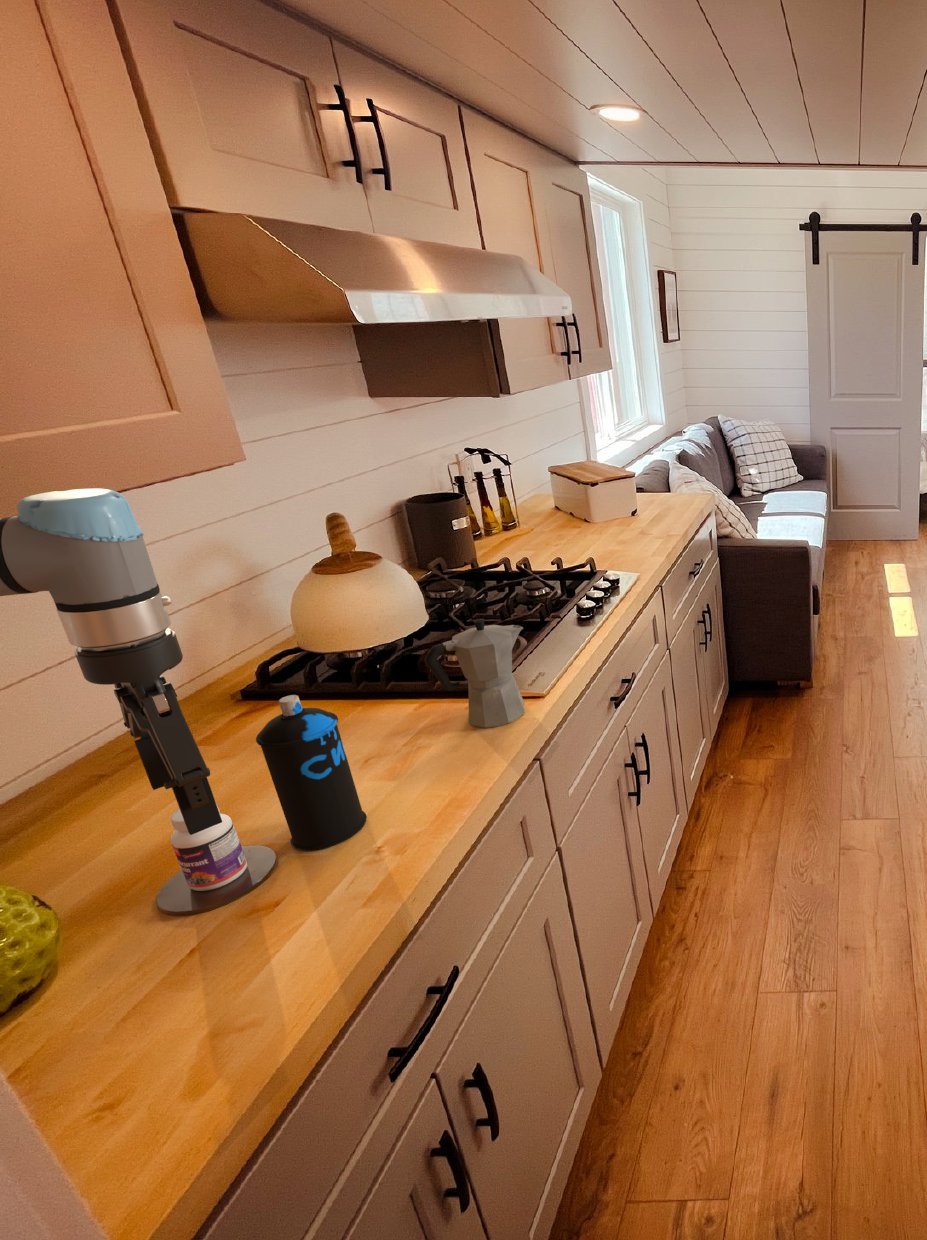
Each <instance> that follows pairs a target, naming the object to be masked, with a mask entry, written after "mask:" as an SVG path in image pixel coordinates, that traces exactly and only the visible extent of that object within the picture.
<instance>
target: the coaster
mask: <svg viewBox="0 0 927 1240" xmlns="http://www.w3.org/2000/svg"><path fill="white" fill-rule="evenodd" d="M241 847H242V849H243V852H244V855H245V858H246V861H247V867H246V869H245V871H244V872H243V873H242V874H241V875H240V876H239V877H238V878H236V879H235V880H233V881H232V882H230V883H228V884H226V885H224V886H221V887H219V888H215V889H212V890H207V891H196V890H193V889H191V888H190V887H189V885H188V883H187V881H186V879H185V876H184V874H183V871H182V869H181V870H180V871H179V872H177V873H175V874H174V875H173V876H171V877H170V878H169V879H168V880H167V881H166V882H165V883H164V884H163V885H162V886H161V888H160V889H159V890H158V893H157V894H156V898H155V903H156V906H157V907H158V908H157V909H158V910H159V911H160V912H161V913H163V914H165V915H167V916H168V915H169V916H174V917H175V916H176V917H177V916H178V917H180V916H191V915H197V914H202V913H205V912H209V911H212V910H215V909H218V908H221V907H223V906H226V905H228V904H231V903H232V902H235V901H237V900H239V899H241V898H242V897H244V896H246V895H248V894H249V893H251V892H253V891H254V890H255V889H257V888H258V887H260V886H261V885H262V884H264V882H266V881H267V880H268V878H269V877H271V875H272V874H273V873H274V871H275V870H276V868H277V865H278V861H279V859H278V855H277V853H276V852H275V850H274V849H272V848H270V847H268V846H265V845H256V844H255V845H254V844H253V845H243V846H242V845H241Z"/></svg>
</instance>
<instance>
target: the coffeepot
mask: <svg viewBox="0 0 927 1240" xmlns="http://www.w3.org/2000/svg"><path fill="white" fill-rule="evenodd" d="M473 624H474V626H475V627H470V628H468V629H466V630H464V631H461V632H459V633H456V634H454V635H453V636H452V639H451V640H447V641H444V642H442V643H439V644H436V645H433V646H432V647H431V648H430V649H429V651H428V652H427V654H426V655H425V657H424V663H425V665H426V667H428V669H429V670H430V671H431V673H432V674H433V675H434V677H436V680H437V681H438V682H439V683H440V685H441V686H442V687H443V689H444V690H446V691H452V690H455V689H457V688H459V687H460V685H461V683H460V681H456V682H451V681H450V677H449V675H448V673H446V672H445V671H444V669H443V666H442V663H441V662H440V661H439V659H438V658H439V657H440V656H444V655H451V654H455V656H456V657H455V658H456V659H457V661H458V665H459V667H460V669H461V672H462V674H463V676H464V678H465V679H467V681H468V682H467V683H468V685H467V687H468V692H467V693H468V724H469V725H472V726H474V727H477V728H484V729H488V728H497V727H501V726H505V725H507V724H510V723H512V722H514V721H516V720H518V719H519V718H521V717H522V716H523V714H525V713H526V705H525V701H524V697H523V696H522V694H521V691H520V689H519V686H518V683H517V681H516V679H515V677H514V675H513V671H512V670H513V648H514V646H515V643H516V641H517V639H518V636H519V634H520V632H521V631H522V630H524V627H523V626H521V625H520V624H516V625H515V624H510V625H498V624H489V625H485V619H484V618H477V619H475V620H473Z"/></svg>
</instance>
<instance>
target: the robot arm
mask: <svg viewBox="0 0 927 1240" xmlns="http://www.w3.org/2000/svg"><path fill="white" fill-rule="evenodd" d="M16 509H17V512H18V513H17V514H16V515H14V516H11V517H10V516H9V517H1V518H0V597H7V596H16V595H26V594H27V595H28V594H36V593H39V592H48V593H49V594H50V596H51V598H52V600H53V602H54V605H55V607H56V608H55V610H56V613H57V615H58V617H59V621H60V622H61V625H62V627H63V630H64V632H65V636H66V638H67V639H68V643H69V644H70V645H71V646H74V647H76V649H75V650H74V655H75V658H76V661H77V663H78V667H79V668H80V670H81V673H82V676H83V678H84V679H85V680H86V681H87V682H88V683H91V684H93V685H103V686H104V685H105V686H106V685H108V686H109V685H111V686H112V685H113V686H114V688H113V694H114V696H115V698H116V700H117V702H118V703H119V707H120V711H121V714H122V719H123V721H124V722H123V726H124V727H126V728H127V730H129V734H130V737H132V738H133V739H134V741H133V742H134V745H135V748H136V749H137V753H138V755H139V758H140V760H141V763H142V766H143V768H144V770H145V773H146V776H147V778H148V781H149V783H150V786H151V789H152V790H153V791H155V790H158V789H161V788H163V787H164V789H165V790H167V791H168V790H169V789H171V790H172V792H173V794H174V798H175V800H176V803H177V805H178V809H179V808H180V811H181V814H182V816H183V819H184V822H185V824H186V827H187V830H188V832H189V834H190V835H193V834H195V833H197V832H200V831H202V830H205V829H207V828H209V827H212V826H214V825H217V824H219V823H222V819H221V816H220V813H221V812H220V813H219V811H220V810H219V811H218V808H219V807H218V808H217V806H218V804H217V802H216V800H215V797H214V794H213V791H212V788H211V786H210V785H211V784H210V782H209V779H208V777H210V776H211V769H210V768H209V767H207V764H206V762H205V760H204V758H203V755H202V753H201V750H200V749H199V746H198V744H197V742H196V740H195V738H194V736H193V732H192V730H191V728H190V726H189V725H188V722H187V720H186V717H185V716H184V714H183V711H182V708H181V706H180V703H179V701H178V698H177V697H178V694H177V692H176V690H175V688H174V686H173V683H171V682H167V680H166V678H165V677H164V675H163V674H164V673H165V672H167V671H169V670H173V669H174V668H175V667H177V666H178V665H179V664H180V663H182V661H183V659H184V658H183V657H184V655H183V651H182V649H181V647H180V643H179V640H178V636H177V634H176V632H175V631H174V630H173V629H171V628H169V627H170V626H171V624H172V622H171V619H170V616H169V613H168V610H167V609H165V608H164V607H167V606H170V605H171V604H172V603H173V601H172V598H171V597H169V596H162V593H161V589H160V585H159V583H158V581H157V578H156V573H155V571H154V569H153V568H154V567H153V564H152V561H151V558H150V555H149V552H148V548H147V546H146V543H145V539H144V533H143V529H142V528H141V527H140V525H139V524H138V521H137V518H136V516H135V514H134V512H133V510H132V507H131V505H130V503H129V501H128V499H127V498H126V496H125V495H124V494H122V493H120V492H118V491H116V490H112V489H108V488H76V489H75V488H74V489H67V490H56V491H47V492H42V493H37V494H32V495H28V496H25V497H23V498H21V499H19V501H18V502H17V504H16ZM135 739H136V740H135ZM216 804H217V805H216Z"/></svg>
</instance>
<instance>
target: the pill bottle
mask: <svg viewBox="0 0 927 1240" xmlns="http://www.w3.org/2000/svg"><path fill="white" fill-rule="evenodd" d="M216 805H217V808H218V811H219V813H220V816H221V819H222V823H219V824H217V825H214V826H212V827H209V828H207V829H205V830H202V831H200V832H197V833H195V834H193V835H190V834H189V832H188V830H187V827H186V824H185V822H184V819H183V816H182V814H181V811H180V808H179V807H178V808H177V809H176V810H175V811H174V812H173V813H172V814H171V815H170V822H171V824H172V827H173V828H174V831H173V832H172V834H171V836H170V843H171V846H172V849H173V852H174V854H175V857H176V859H177V861H178V863H179V866H180V869H181V870H182V871H183V874H184V876H185V879H186V881H187V883H188V885H189V887H190V888H191V889H193V890H196V891H207V890H212V889H215V888H219V887H221V886H224V885H226V884H228V883H230V882H232V881H233V880H235V879H236V878H238V877H239V876H240V875H241V874H242V873H243V872H244V871H245V869H246V867H247V861H246V858H245V855H244V852H243V849H242V845H241V841H240V839H239V836H238V834H237V833H238V832H237V831H236V828H235V825H234V822H233V820H232V818H231V817H230V816H229V815H227V814H224V813H221V811H220V808H219V806H218V804H217V803H216Z"/></svg>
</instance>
